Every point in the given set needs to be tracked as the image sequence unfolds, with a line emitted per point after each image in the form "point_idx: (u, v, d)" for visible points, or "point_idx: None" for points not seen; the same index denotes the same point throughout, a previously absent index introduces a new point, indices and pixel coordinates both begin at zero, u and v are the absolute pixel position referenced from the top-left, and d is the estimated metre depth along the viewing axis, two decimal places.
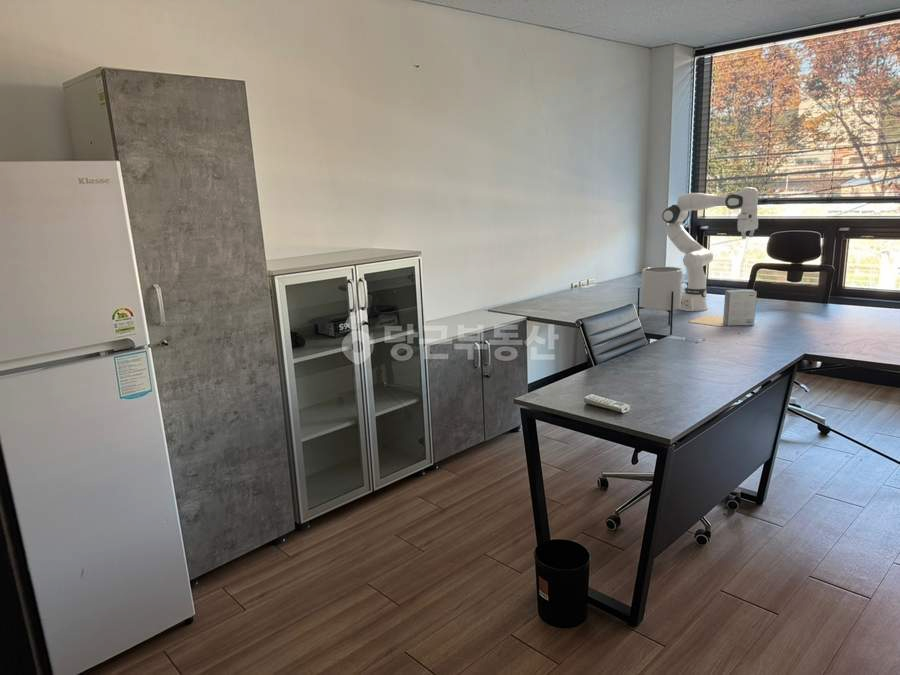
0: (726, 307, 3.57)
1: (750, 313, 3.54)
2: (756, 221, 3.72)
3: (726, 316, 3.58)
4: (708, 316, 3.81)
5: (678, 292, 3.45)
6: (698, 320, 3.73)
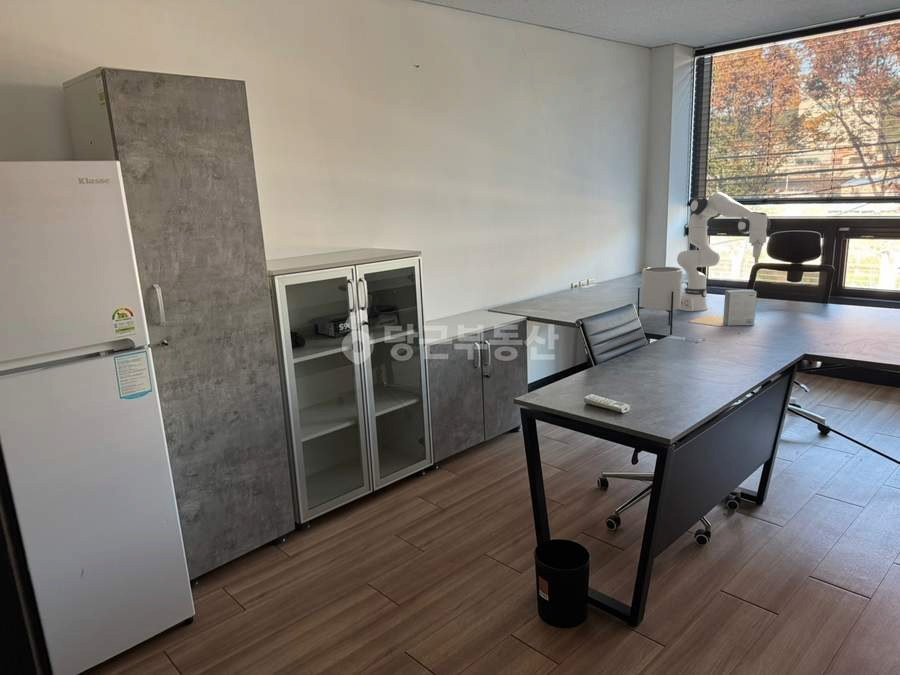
0: (726, 307, 3.57)
1: (750, 313, 3.54)
2: None
3: (726, 316, 3.58)
4: (708, 316, 3.81)
5: (678, 292, 3.45)
6: (698, 320, 3.73)
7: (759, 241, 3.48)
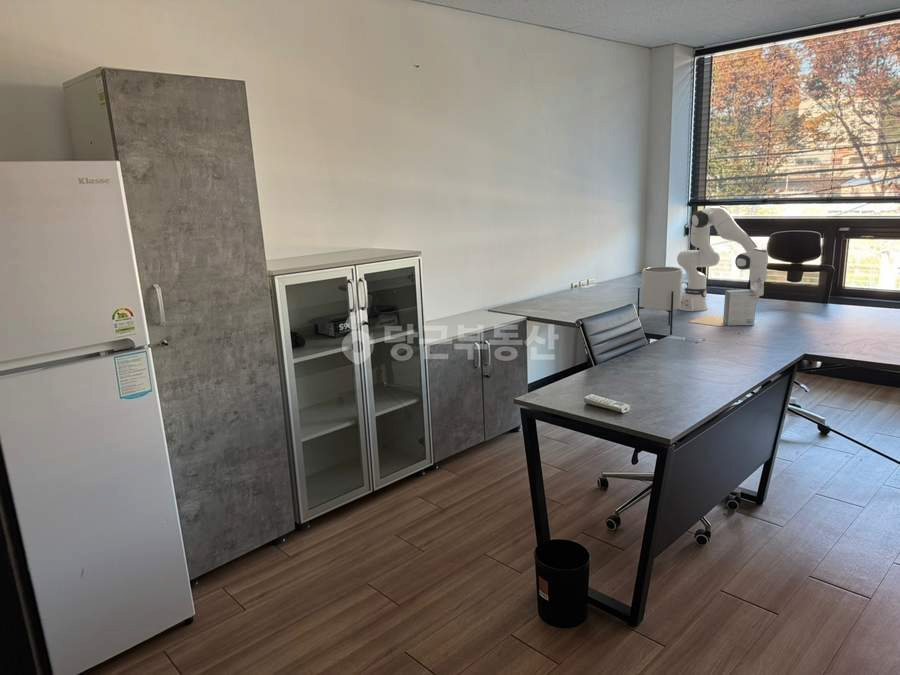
0: (726, 307, 3.57)
1: (750, 313, 3.54)
2: (756, 286, 3.41)
3: (726, 316, 3.58)
4: (708, 316, 3.81)
5: (678, 292, 3.45)
6: (698, 320, 3.73)
7: (761, 279, 3.42)
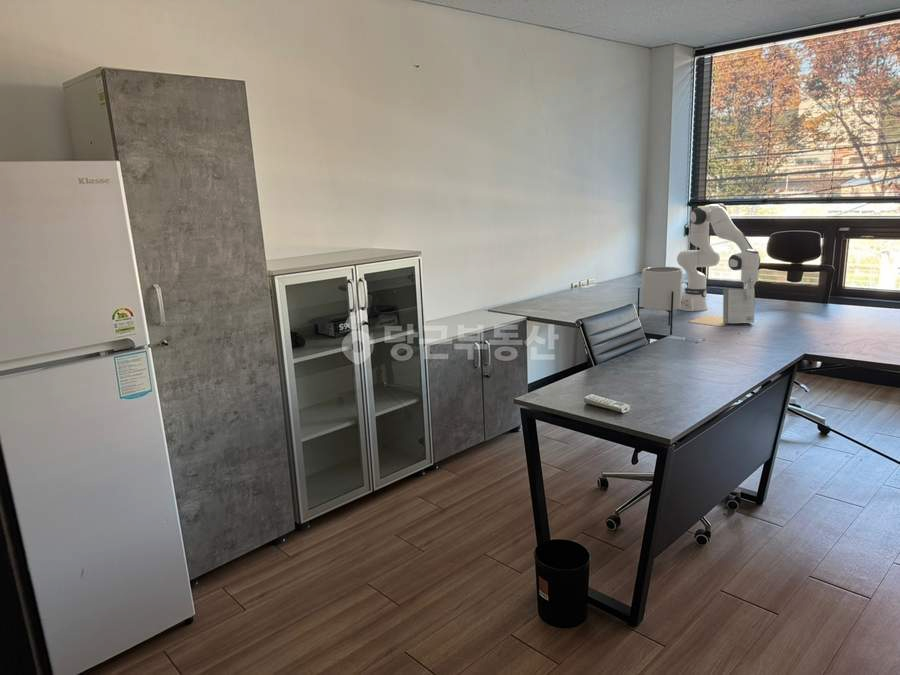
0: (725, 305, 3.59)
1: (749, 310, 3.55)
2: (746, 287, 3.45)
3: (726, 314, 3.59)
4: (708, 316, 3.81)
5: (678, 292, 3.45)
6: (698, 320, 3.73)
7: (752, 280, 3.46)
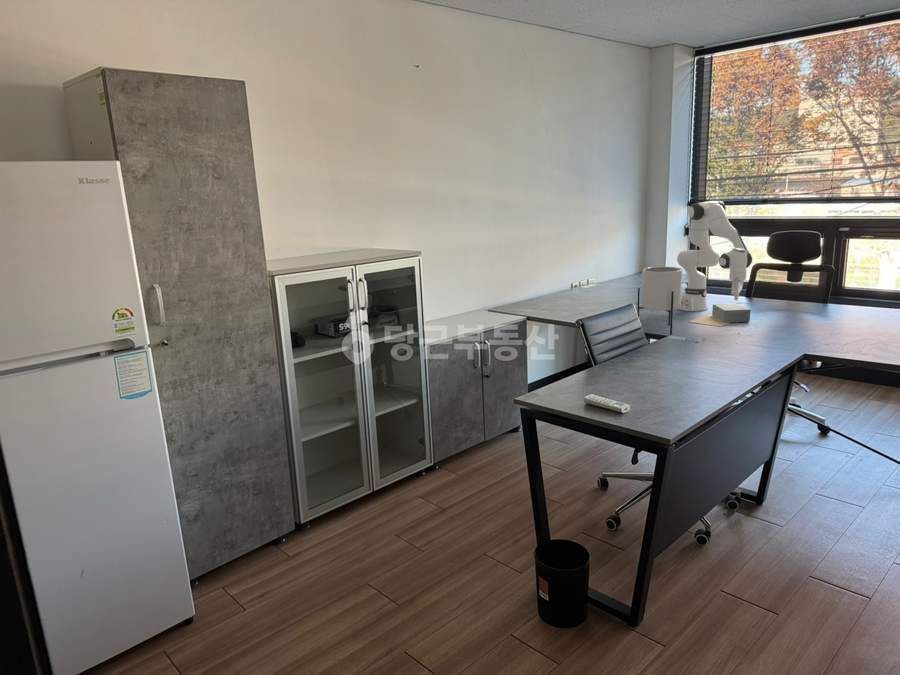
0: (717, 312, 3.73)
1: (740, 307, 3.68)
2: None
3: (720, 312, 3.68)
4: (708, 316, 3.81)
5: (678, 292, 3.45)
6: (698, 320, 3.73)
7: (738, 278, 3.51)
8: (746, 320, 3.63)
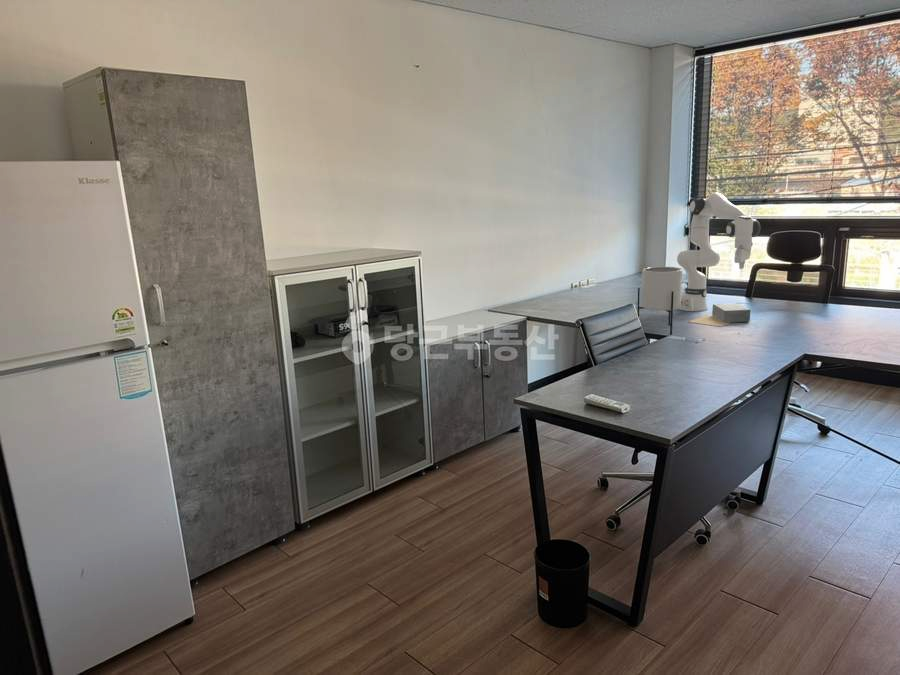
0: (717, 312, 3.73)
1: (741, 307, 3.68)
2: None
3: (720, 312, 3.68)
4: (708, 316, 3.81)
5: (678, 292, 3.45)
6: (698, 320, 3.73)
7: (743, 246, 3.45)
8: (746, 320, 3.63)
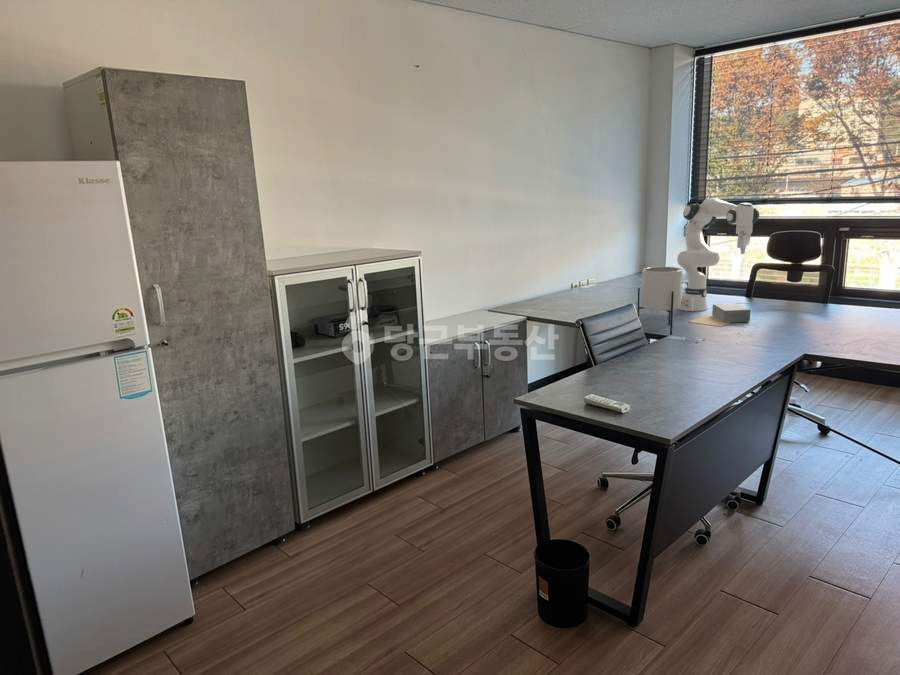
0: (717, 312, 3.73)
1: (741, 307, 3.68)
2: None
3: (720, 312, 3.68)
4: (708, 316, 3.81)
5: (678, 292, 3.45)
6: (698, 320, 3.73)
7: (744, 232, 3.60)
8: (746, 320, 3.63)
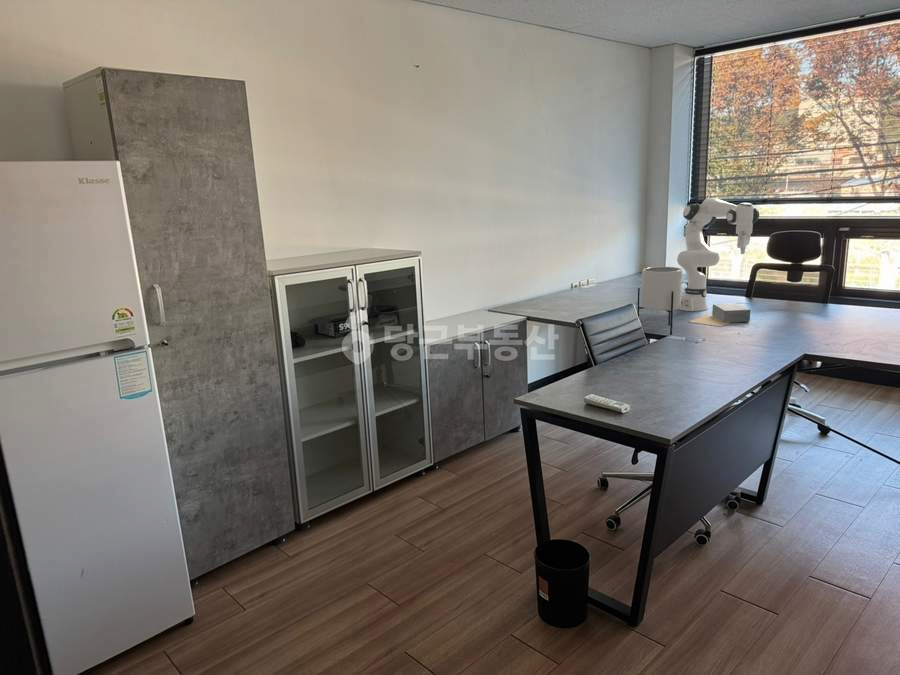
0: (717, 312, 3.73)
1: (741, 307, 3.68)
2: None
3: (720, 312, 3.68)
4: (708, 316, 3.81)
5: (678, 292, 3.45)
6: (698, 320, 3.73)
7: (744, 232, 3.60)
8: (746, 320, 3.63)
